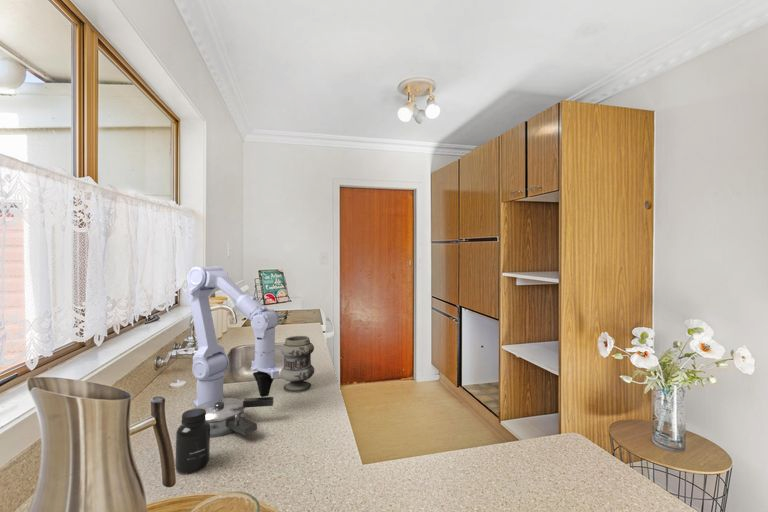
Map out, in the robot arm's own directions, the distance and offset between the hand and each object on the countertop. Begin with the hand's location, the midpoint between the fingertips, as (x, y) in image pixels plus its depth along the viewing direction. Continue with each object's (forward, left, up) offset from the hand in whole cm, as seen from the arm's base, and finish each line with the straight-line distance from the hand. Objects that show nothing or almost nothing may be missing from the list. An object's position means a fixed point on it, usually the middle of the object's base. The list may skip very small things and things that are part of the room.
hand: (264, 395), depth 106 cm
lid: (+1, -9, -1) cm, 9 cm away
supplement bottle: (+15, -23, -6) cm, 28 cm away
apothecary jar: (-13, +17, -6) cm, 22 cm away
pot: (+3, -12, -5) cm, 13 cm away
